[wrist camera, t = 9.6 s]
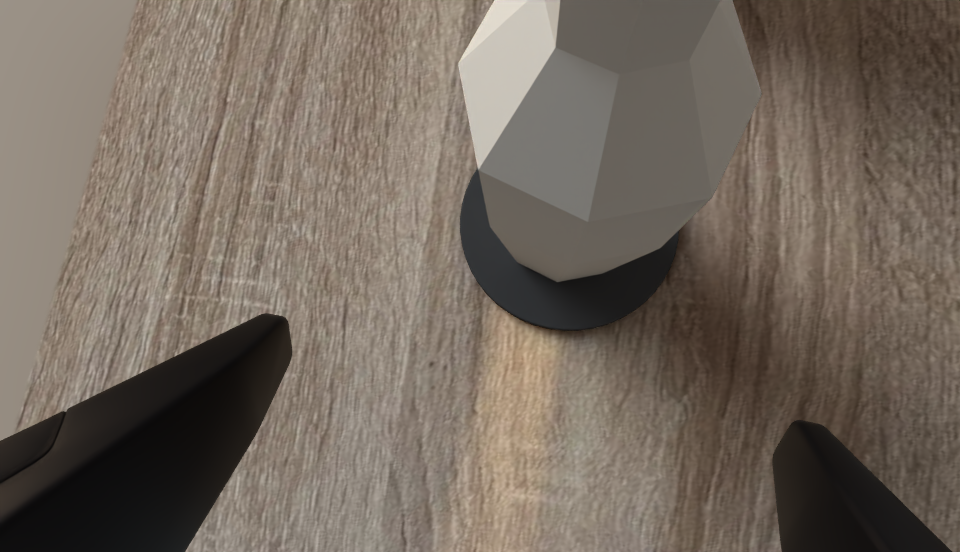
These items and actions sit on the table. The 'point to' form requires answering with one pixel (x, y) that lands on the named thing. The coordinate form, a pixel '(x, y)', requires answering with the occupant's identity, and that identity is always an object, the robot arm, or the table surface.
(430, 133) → the table surface
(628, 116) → the faceted bottle
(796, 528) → the robot arm
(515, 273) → the coaster
